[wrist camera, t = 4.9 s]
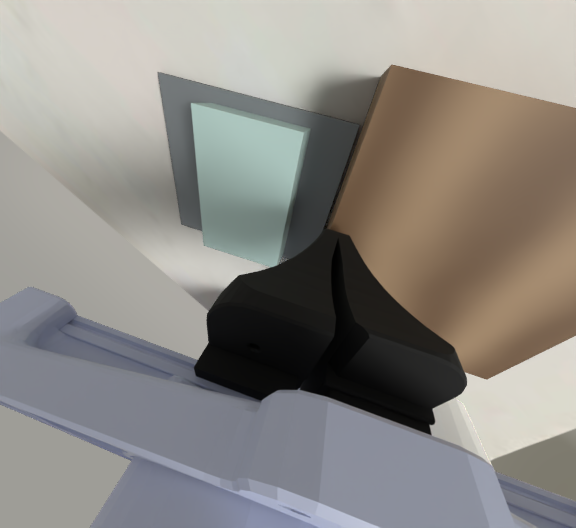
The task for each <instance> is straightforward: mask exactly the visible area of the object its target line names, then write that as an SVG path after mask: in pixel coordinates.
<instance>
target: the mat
mask: <svg viewBox="0 0 576 528" xmlns="http://www.w3.org/2000/svg"><path fill="white" fill-rule="evenodd" d="M158 77H159V84H160V90H161V96H162V103H163V109H164V116H165V122H166V128H167V135H168V141H169V148H170V154H171V160H172V167H173V173H174V180H175V186H176V192H177V199H178V205H179V212H180V218H181V224H182V225H185V226H188V227H191V228H194V229H197V230H200V231H202V221H201V210H200V199H199V188H198V177H197V166H196V155H195V144H194V133H193V122H192V111H191V103H214V104H218V105H222V106H226V107H230V108H233V109H237V110H241V111H245V112H249V113H253V114H256V115H260V116H264V117H268V118H272V119H276V120H279V121H283V122H287V123H291V124H295V125H299V126H303V127H306V128H310V129H311V130H310V135H309V139H308V144H307V148H306V153H305V157H304V162H303V167H302V171H301V176H300V180H299V185H298V189H297V194H296V199H295V203H294V208H293V212H292V217H291V222H290V226H289V231H288V235H287V240H286V244H285V249H284V254H283V256H282V257H285V258H288V259H291V258H293V257H294V256H296V255H298V254H299V253H300V252H302V251H303V250H304V249H306V248H307V247H308V246H310V245H311V244H312V243H313V242H314V241H315V240H316V239H317V238H318V237H319V236H320V234H321V233H322V231H323V229H324V226H325V223H326V220H327V217H328V214H329V211H330V209H331V206H332V203H333V200H334V197H335V194H336V191H337V188H338V186H339V183H340V180H341V177H342V174H343V171H344V168H345V166H346V163H347V160H348V157H349V154H350V151H351V148H352V145H353V143H354V140H355V137H356V134H357V131H358V128H359V124H355V123H351V122H347V121H344V120H340V119H336V118H332V117H328V116H325V115H321V114H317V113H313V112H309V111H305V110H302V109H298V108H294V107H290V106H286V105H283V104H279V103H275V102H271V101H267V100H263V99H260V98H256V97H252V96H248V95H244V94H241V93H237V92H233V91H229V90H225V89H221V88H218V87H214V86H210V85H206V84H202V83H198V82H195V81H191V80H187V79H183V78H179V77H176V76H172V75H168V74H164V73H159V72H158Z"/></svg>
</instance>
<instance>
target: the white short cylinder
mask: <svg viewBox="0 0 576 528" xmlns="http://www.w3.org/2000/svg"><path fill="white" fill-rule="evenodd" d="M433 413H434V417H435V424H434V425H430V429H431V434H432V436H434V437H437V438H440V439H442V440H445V441H448V442H451V443H453V444H456V445H459V446H461V447H463V448H465V449H467V450H468V451H470V452H472V453H474V454H476V455H478V456H480V457H482V458H483V459H484V460H486V461H487V462H488V463H489V464H490V465H491V462H490V460H489V458H488V456H487V453H486V451H485V449H484V447H483V445H482V443H481V440H480V438H479V436H478V434H477V432H476V429H475V427H474V425H473V423H472V421H471V418H470V416H469V414H468V412H467V410H466V408H465V406H464V404H463V402H461V401H459V400H458V399H456V398H454V399H452V400H450V401H447V402H445V403H443V404H441V405H439V406H437V407H435V408H433Z"/></svg>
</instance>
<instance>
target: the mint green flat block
mask: <svg viewBox="0 0 576 528" xmlns="http://www.w3.org/2000/svg"><path fill="white" fill-rule="evenodd" d="M191 111H192V122H193V133H194V144H195V155H196V166H197V177H198V188H199V199H200V210H201V221H202V232H203V243H204V246H207V247H210V248H213V249H216V250H219V251H222V252H225V253H228V254H232V255H235V256H238V257H241V258H244V259H247V260H250V261H253V262H257V263H260V264H263V265H266V266H269V267H274V266H276V265H278V264H279V262H280V260H281V258H282V256H283V254H284V249H285V244H286V240H287V235H288V231H289V226H290V222H291V217H292V212H293V208H294V203H295V199H296V194H297V189H298V185H299V180H300V176H301V171H302V167H303V162H304V157H305V153H306V148H307V144H308V139H309V135H310V130H311V129H310V128H306V127H303V126H299V125H295V124H291V123H287V122H283V121H279V120H276V119H272V118H268V117H264V116H260V115H256V114H253V113H249V112H245V111H241V110H237V109H233V108H230V107H226V106H222V105H218V104H214V103H191Z"/></svg>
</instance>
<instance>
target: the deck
mask: <svg viewBox="0 0 576 528" xmlns="http://www.w3.org/2000/svg"><path fill="white" fill-rule="evenodd" d="M327 229H330V230H334V231H337V232H340V233H343V234H347V235H350V237H351V239H352V241H353V243H354V245H355V247H356V249H357V250H358V252H359V254H360V256H361V257H362V259H363V261H364V262H365V264H366V265H367V267H368V268H369V270H370V271H371V273H372V274H373V275H374V277H375V278H376V279H377V280H378V281H379V283H380V284H381V285H382V286H383V287H384V289H385V290H386V291H387V292H388V293H389V294H390V295H391V296H392V297H393V298H394V299H395V300H396V301H397V302H398V303H399V304H400V305H401V306H402V307H403V308H405V309H406V310H407V311H408V312H409V313H410V314H411V315H413V316H414V317H415V318H416V319H417V320H419V321H420V322H421V323H422V324H424V325H425V326H426V327H427V328H429V329H430V330H432V331H433V332H434V333H436V334H437V335H438V336H440V337H441V338H442V339H444V340H445V341H447V342H448V343H449V344H451V345H452V346H453V347H454V348H455V350H456V353H457V355H458V358H459V360H460V363H461V365H462V368H463V370H464V372H466V373H469V374H472V375H475V376H478V377H481V378H484V379H489V378H491V377H493V376H495V375H497V374H499V373H501V372H503V371H505V370H507V369H509V368H511V367H513V366H515V365H517V364H519V363H521V362H523V361H525V360H527V359H529V358H531V357H533V356H535V355H537V354H539V353H541V352H543V351H545V350H547V349H549V348H552V347H554V346H556V345H558V344H560V343H562V342H564V341H566V340H568V339H570V338H572V337H574V336H576V108H573V107H569V106H565V105H560V104H556V103H552V102H548V101H544V100H539V99H535V98H531V97H527V96H522V95H518V94H514V93H510V92H506V91H501V90H497V89H493V88H489V87H484V86H480V85H476V84H472V83H468V82H463V81H459V80H455V79H451V78H446V77H442V76H438V75H434V74H430V73H425V72H421V71H417V70H413V69H408V68H404V67H400V66H396V65H391V66H390V67H389V68H388V69H387V70H386V71H385V72H384V74H383V75H382V76H381V77H380V80H379V83H378V86H377V88H376V91H375V94H374V97H373V100H372V102H371V105H370V108H369V111H368V114H367V116H366V119H365V122H364V125H363V127H362V130H361V133H360V136H359V139H358V141H357V144H356V147H355V150H354V153H353V155H352V158H351V161H350V164H349V167H348V169H347V172H346V175H345V178H344V180H343V183H342V186H341V189H340V192H339V194H338V197H337V200H336V203H335V206H334V208H333V211H332V214H331V217H330V219H329V222H328V225H327Z"/></svg>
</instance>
